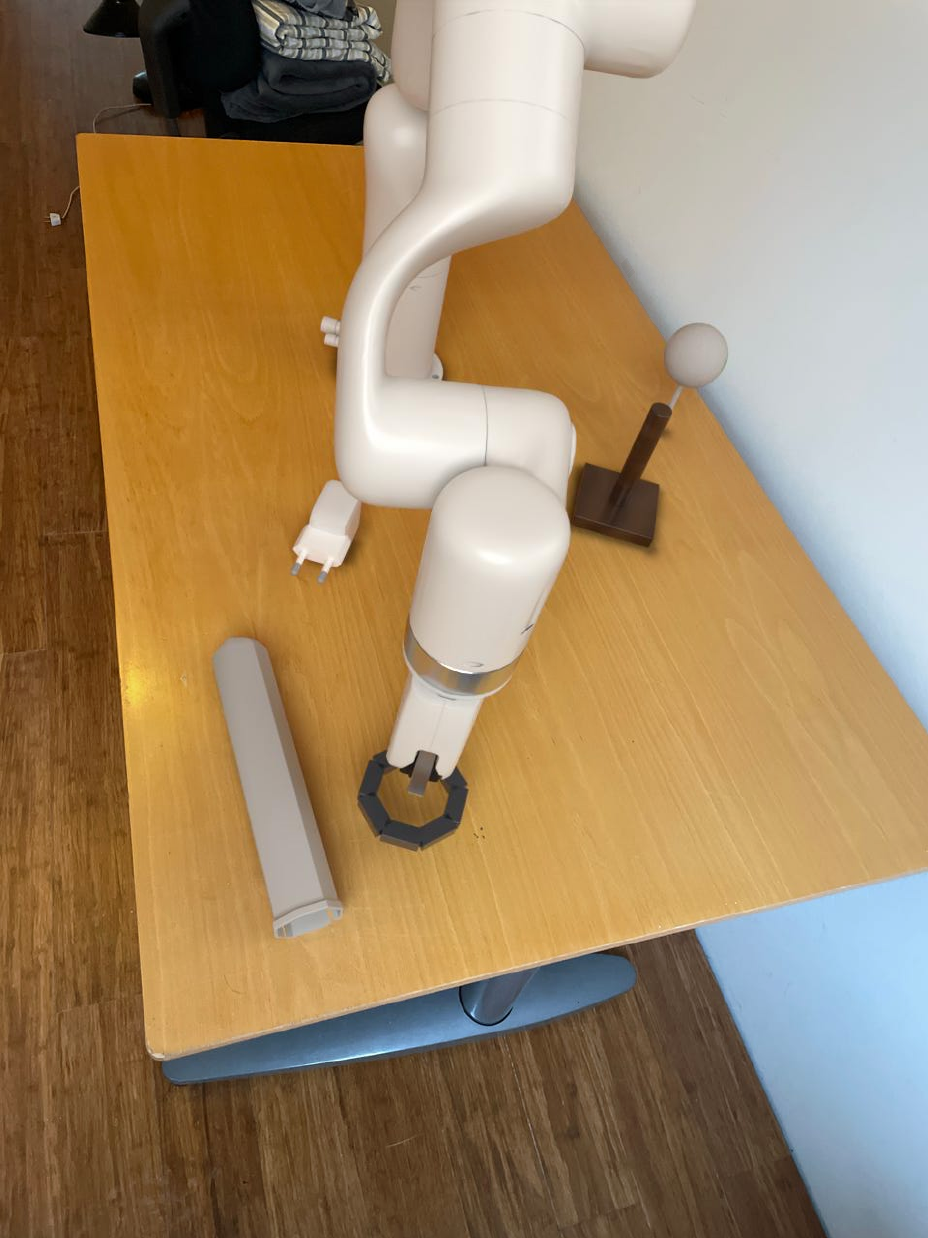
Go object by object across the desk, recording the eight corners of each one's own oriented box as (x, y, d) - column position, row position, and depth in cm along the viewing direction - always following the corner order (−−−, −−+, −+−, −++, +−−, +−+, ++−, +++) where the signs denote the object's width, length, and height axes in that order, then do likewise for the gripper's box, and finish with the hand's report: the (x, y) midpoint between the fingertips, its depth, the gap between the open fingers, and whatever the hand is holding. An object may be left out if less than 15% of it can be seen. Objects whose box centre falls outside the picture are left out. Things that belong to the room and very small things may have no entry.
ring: (346, 831, 62) (347, 824, 61) (377, 738, 67) (378, 731, 66) (449, 861, 62) (452, 855, 61) (472, 767, 67) (475, 759, 66)
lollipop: (684, 457, 101) (739, 356, 89) (629, 441, 100) (676, 337, 89) (686, 421, 105) (738, 320, 93) (633, 405, 105) (679, 302, 93)
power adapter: (329, 607, 78) (332, 569, 73) (280, 592, 78) (281, 553, 73) (365, 527, 84) (370, 487, 80) (320, 513, 84) (323, 472, 80)
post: (571, 524, 90) (614, 424, 79) (581, 471, 96) (623, 370, 84) (648, 547, 90) (703, 450, 79) (654, 493, 96) (706, 395, 84)
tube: (194, 640, 68) (261, 932, 56) (254, 616, 69) (334, 901, 56) (218, 668, 73) (285, 943, 60) (274, 646, 73) (353, 915, 61)
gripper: (437, 531, 56) (404, 669, 71) (370, 726, 47) (348, 838, 61) (541, 563, 56) (486, 694, 71) (496, 764, 47) (443, 866, 62)
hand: (422, 760), depth 66 cm, fingers closed on ring, 1 cm apart
